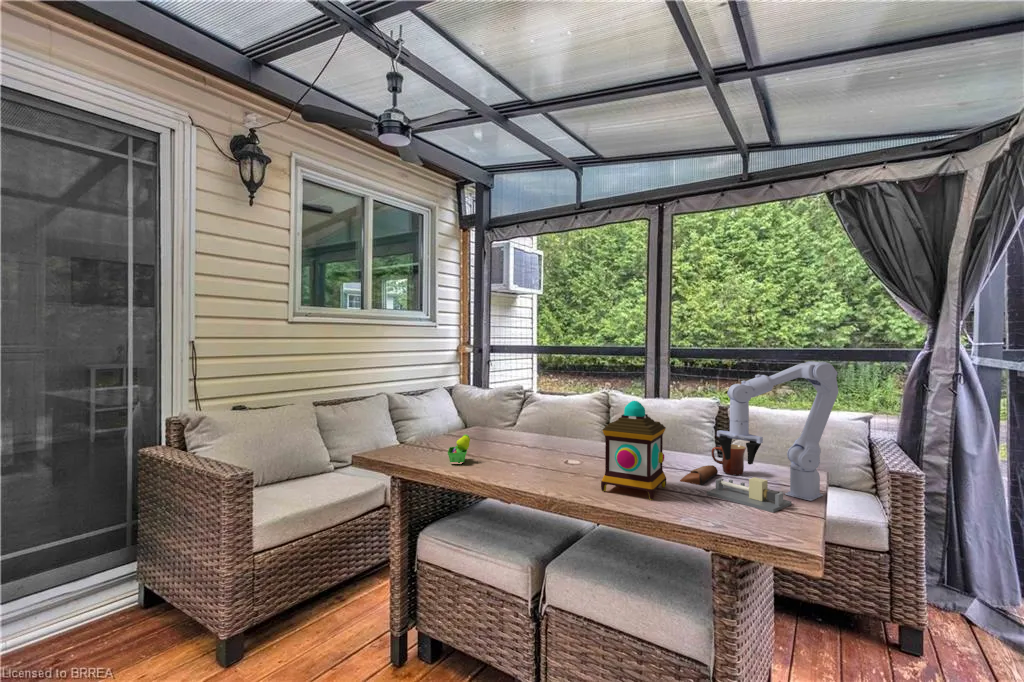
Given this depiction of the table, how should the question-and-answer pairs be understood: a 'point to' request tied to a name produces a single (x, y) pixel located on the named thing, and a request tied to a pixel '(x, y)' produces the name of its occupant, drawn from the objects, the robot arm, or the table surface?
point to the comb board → (742, 496)
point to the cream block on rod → (757, 488)
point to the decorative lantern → (634, 451)
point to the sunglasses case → (700, 475)
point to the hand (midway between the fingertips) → (738, 461)
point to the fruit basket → (459, 450)
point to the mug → (732, 460)
